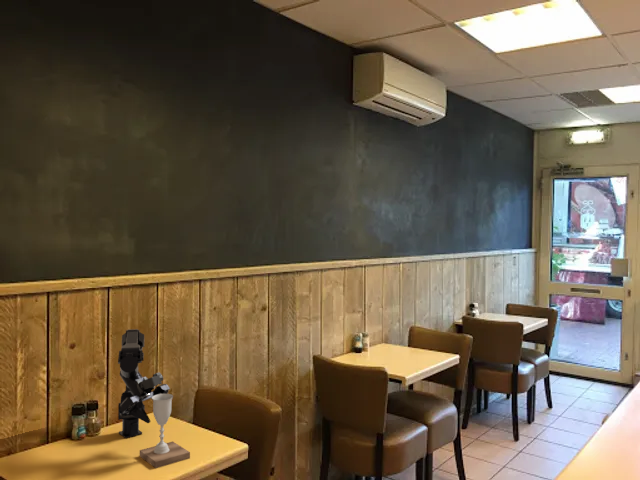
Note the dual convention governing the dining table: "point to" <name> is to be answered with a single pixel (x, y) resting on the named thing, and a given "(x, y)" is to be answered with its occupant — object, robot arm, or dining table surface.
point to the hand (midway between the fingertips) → (159, 418)
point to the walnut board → (165, 455)
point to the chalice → (162, 418)
